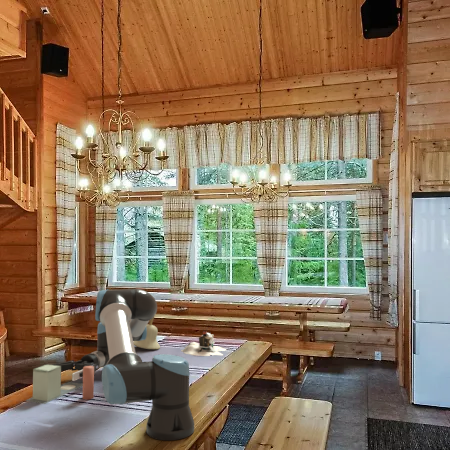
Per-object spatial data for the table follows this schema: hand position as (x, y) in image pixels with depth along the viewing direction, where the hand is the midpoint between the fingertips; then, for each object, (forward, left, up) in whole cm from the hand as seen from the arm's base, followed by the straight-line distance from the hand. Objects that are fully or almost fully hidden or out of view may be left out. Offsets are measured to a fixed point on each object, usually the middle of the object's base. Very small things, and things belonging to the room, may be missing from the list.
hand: (58, 375), depth 181 cm
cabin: (+84, -28, -8) cm, 89 cm away
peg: (-2, -15, -7) cm, 17 cm away
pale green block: (-7, 0, -6) cm, 9 cm away
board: (-1, 0, -7) cm, 7 cm away
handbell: (+76, +5, -7) cm, 77 cm away
